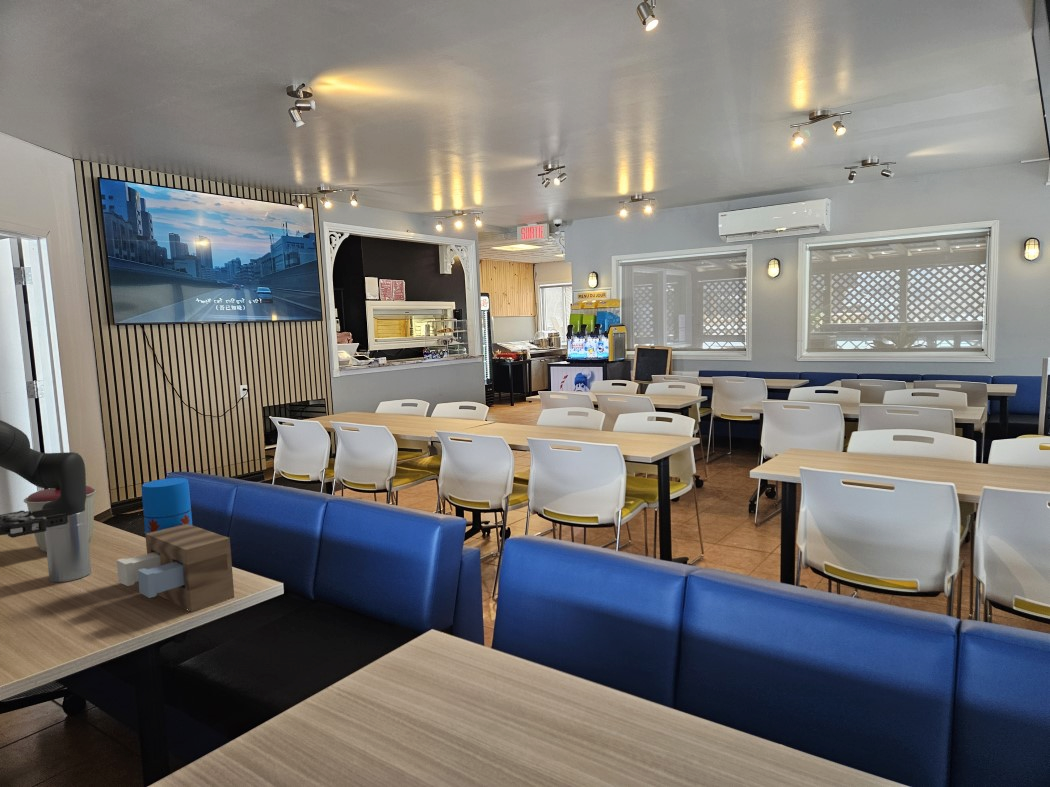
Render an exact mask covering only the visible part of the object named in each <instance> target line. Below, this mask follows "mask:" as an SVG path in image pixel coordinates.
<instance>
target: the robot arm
mask: <svg viewBox="0 0 1050 787" xmlns="http://www.w3.org/2000/svg"><path fill="white" fill-rule="evenodd" d="M0 467H1V468H3V469H5V470H7V471H10V472H13V473H14V474H16V475H18V476H20V477H21V478H22V479H24V480H26V481H27V482H29V484H30V483H31V484H32V485H34V486H35V487H37V488H40V489H50V488H60V497H59V498H58V499H56V500H54V501H51V502H48V503H46V504H45V505H43V507H42V510H38V511H33V512H32V513H31V511H28V510H26V511H25V510H18V511H14V512H8V513H2V514H0V536H6V535H7V537H9V538H18V537H21V536H27V535H32V534H33V535H34V533H39V532H45V541H46V550H47V552H46V558H47V568H48V569H47V570H48V577H49V578H48V579H49V581H50V582H52V583H63V582H70V581H75V580H78V579H81V578H84V577H86V576H89V575H90V574H91V573H92V564H91V552H90V542H89V541H88V531H87V521H86V512H85V501H86V486H87V478H86V475H87V474H86V466H85V460H84V459H83V457H82V455H80V454H79V453H78V452H74V451H73V452H49V453H48V452H41V451H37V450H35V449H33V448H31V442H30V438H29V437H28V435H27V434H26V433H25V432H23V431H22V430H21V429H19V428H18V427H15V426H14V425H13V424H10V423H8V422H6V421H4V420H1V419H0ZM35 523H39V527H35Z"/></svg>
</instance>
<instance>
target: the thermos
mask: <svg viewBox="0 0 1050 787" xmlns="http://www.w3.org/2000/svg"><path fill="white" fill-rule="evenodd" d="M141 499H142V509H143V510H142V511H143V521H144V532H145V534H146V533H150V532H155V531H159V530H163V529H167V528H171V527H175V526H179V525H183V524H190V525H193V517H192V516H193V515H192V507H191V506H192V504H191V496H190V485H189V480H188V478H184V477H172V478H164V479H163V478H162V479H155V480H151V481H148V482H144V483H143V484H142V486H141Z"/></svg>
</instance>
